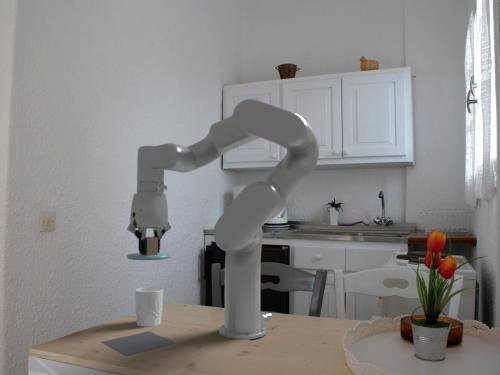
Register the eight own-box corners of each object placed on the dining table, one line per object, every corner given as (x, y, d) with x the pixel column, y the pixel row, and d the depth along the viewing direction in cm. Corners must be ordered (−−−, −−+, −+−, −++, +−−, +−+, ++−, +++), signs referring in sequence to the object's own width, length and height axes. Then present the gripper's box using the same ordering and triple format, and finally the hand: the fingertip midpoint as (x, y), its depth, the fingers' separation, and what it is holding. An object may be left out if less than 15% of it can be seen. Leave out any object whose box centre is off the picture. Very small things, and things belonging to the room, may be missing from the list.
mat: (148, 333, 111) (148, 331, 111) (176, 344, 101) (176, 342, 101) (101, 344, 102) (101, 341, 102) (126, 358, 92) (126, 355, 92)
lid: (156, 254, 128) (156, 235, 128) (178, 257, 119) (179, 237, 119) (119, 257, 120) (120, 236, 120) (140, 261, 111) (141, 239, 111)
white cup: (156, 329, 114) (156, 292, 114) (129, 328, 115) (129, 291, 116) (167, 321, 121) (167, 287, 122) (142, 320, 123) (142, 286, 124)
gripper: (167, 190, 129) (167, 250, 128) (117, 188, 117) (116, 254, 116) (181, 189, 123) (181, 252, 122) (130, 187, 112) (128, 256, 111)
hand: (149, 252), depth 119 cm, fingers closed on lid, 3 cm apart
